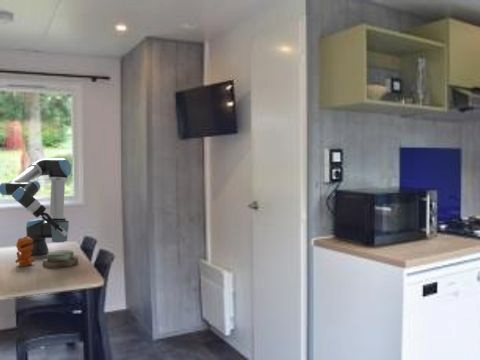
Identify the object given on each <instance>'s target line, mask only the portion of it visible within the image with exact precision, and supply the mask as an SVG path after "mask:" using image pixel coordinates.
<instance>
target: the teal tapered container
mask: <svg viewBox="0 0 480 360" xmlns="http://www.w3.org/2000/svg"><path fill="white" fill-rule="evenodd" d="M54 222H56V223H57V224H58V225H59V226H61V227H62V228H63V229H64V230H65V231H66V232H68V233H69V229H68V224H69V223H70V222H69V220H58V221H54ZM51 229H52V231H51V233H52V238H51V241H52V243H64V242H67V241H68V234H67V235H66V236H64V235H63V234H61V233H60V232H59V231H58V230H57V229H56V230H55V228H54V227H53V226H52V225H51Z"/></svg>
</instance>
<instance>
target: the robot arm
mask: <svg viewBox="0 0 480 360" xmlns="http://www.w3.org/2000/svg"><path fill="white" fill-rule="evenodd" d="M71 173H72V166H71V163H70V161H69V160H68V159H67V158H59V157H58V158H41V159H39V160H37V161H34V162H33V163H30V165H28V167H27V169H25V170H24V171H22V172H21V173H20V174H18V175H17V176H16V177H14V178H12V179H11V180H10V181H9V182H1V183H0V194H1V195H2V196H11V197H12V198H13V199H14V200H15V202H17V203H18V204H20V205H22V207H24V208H25V209H26V212H29V213H31V214H32V215H33V216H34V217H36V219H29V220H28V221H27V222H26V227H25V228H26V229H25V230H26V236H28V237H29V236H30V237H29V238H31V239H32V240H33V242H32V243H29V244H28V245H33V246H34V247H33V249H32V250H31V253H32V254H31V256H40V255H47V253H49V252H50V251H49V247H48V244H47V241H46V239H52V233H51V231H52V229H51V225H52V226H53V227H54V228H55V230H56V229H57V230H58V231H59V232H60V233H61V234H63V235H64V236H66V235H67V236H68V234H69V231H68V232H66V231H65V230H64V229H63V228H62V227H61V226H59V225H58V224H57V223H56V222H54V221H58V220H66V219H67V218H66V217H65V216H64V210H65V189H66V180H68V177H69V176H71ZM41 176H48V177H49V179H50V181H51V184H50V200H49V201H50V202H49V204H50V205H49V213H48V212H46V210H47V207H45V206H44V205H43V204H41V202H40V201H39V200H37V199H36V198H35V197H34V196H35V195H36V194H37V193H39V190H40V189H41V184H40V182H39V181H38V180H35V179H36V178H39V177H41ZM40 216H41V218H38V217H40ZM66 221H67V220H66ZM69 228H70V226H69V224H68V230H69Z"/></svg>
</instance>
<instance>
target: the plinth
mask: <svg viewBox="0 0 480 360" xmlns="http://www.w3.org/2000/svg"><path fill="white" fill-rule="evenodd" d="M74 255H75V253H74V251H73V250H69V249H67V250H66V249H65V250H63V249H62V250H53V251H49V252H48V253H46V257H47V258H44V259H42V267H44V268H47V269H65V268H70V267H74V266H77V265H78V264H79V257H78V256H74Z"/></svg>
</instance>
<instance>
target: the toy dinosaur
mask: <svg viewBox="0 0 480 360" xmlns="http://www.w3.org/2000/svg"><path fill="white" fill-rule="evenodd" d="M29 237H30V236H29ZM29 237H28V236H27V235H25V236H24V237H20V238H18V239H17V242H16V246H15V248H16V250H17V252H16V260H14V262H15V263H16V264H18V265H19V266H20V267H28V266H30V265H32V264H33V263H34V262H35V258H34V257H33V256H32V255H31V254H32V253H31V250H32V249H33V247H34V246H33V245H28V244H29V243H32V242H33V240H32V239H31V238H29Z"/></svg>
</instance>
